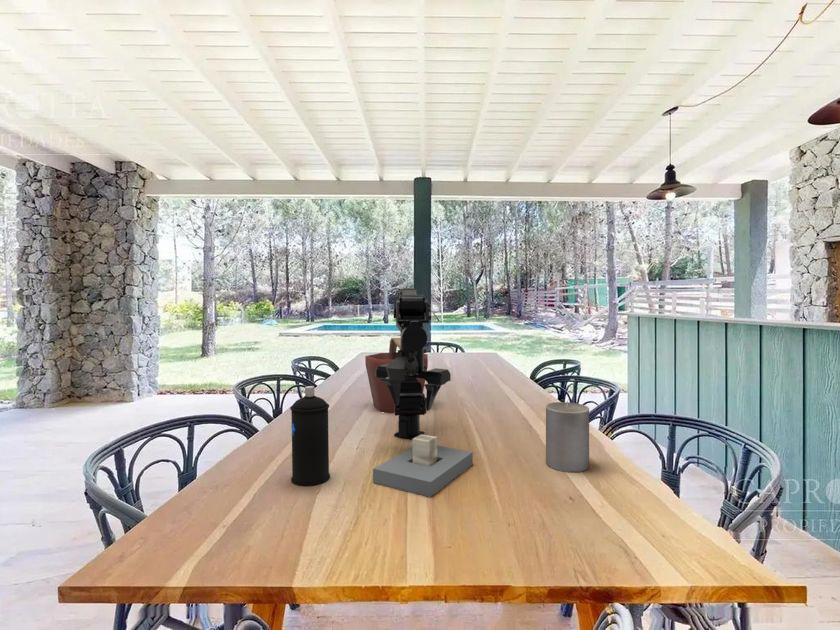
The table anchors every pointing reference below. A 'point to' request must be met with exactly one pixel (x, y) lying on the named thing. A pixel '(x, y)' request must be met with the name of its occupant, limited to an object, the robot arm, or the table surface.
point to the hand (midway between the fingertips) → (412, 407)
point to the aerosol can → (310, 440)
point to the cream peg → (424, 450)
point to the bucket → (378, 387)
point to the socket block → (422, 471)
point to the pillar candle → (567, 436)
